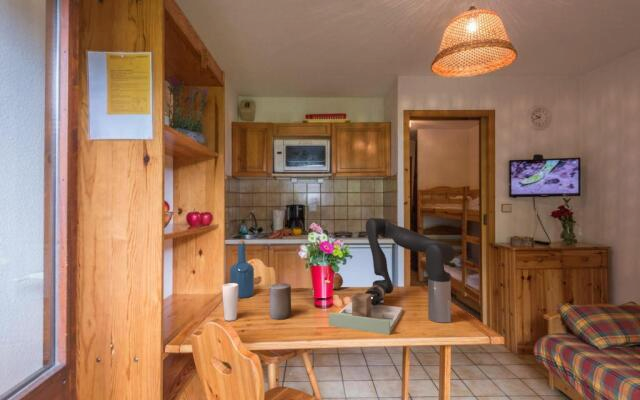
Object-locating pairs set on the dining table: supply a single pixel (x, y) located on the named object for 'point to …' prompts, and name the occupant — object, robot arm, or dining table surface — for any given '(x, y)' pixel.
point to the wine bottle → (242, 273)
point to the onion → (337, 281)
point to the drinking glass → (230, 301)
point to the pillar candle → (280, 301)
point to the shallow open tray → (367, 319)
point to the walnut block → (361, 305)
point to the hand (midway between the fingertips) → (364, 304)
